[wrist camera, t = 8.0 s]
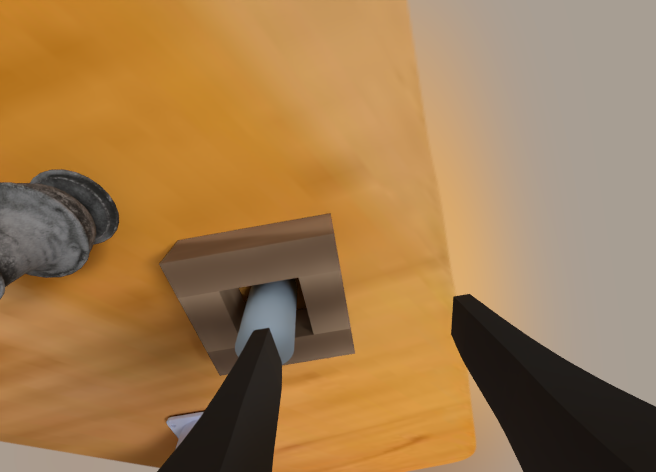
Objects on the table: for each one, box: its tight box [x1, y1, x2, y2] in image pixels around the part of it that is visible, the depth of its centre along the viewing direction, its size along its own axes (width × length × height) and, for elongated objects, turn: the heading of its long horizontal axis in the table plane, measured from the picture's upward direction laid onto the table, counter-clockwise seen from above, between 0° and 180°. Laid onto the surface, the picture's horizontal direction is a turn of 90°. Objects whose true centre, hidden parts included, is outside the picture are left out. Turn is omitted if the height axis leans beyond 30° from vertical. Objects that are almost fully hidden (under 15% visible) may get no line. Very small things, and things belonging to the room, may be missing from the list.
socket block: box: [159, 213, 355, 376], centre depth 22 cm, size 11×11×3 cm
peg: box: [235, 278, 297, 365], centre depth 20 cm, size 4×4×6 cm
